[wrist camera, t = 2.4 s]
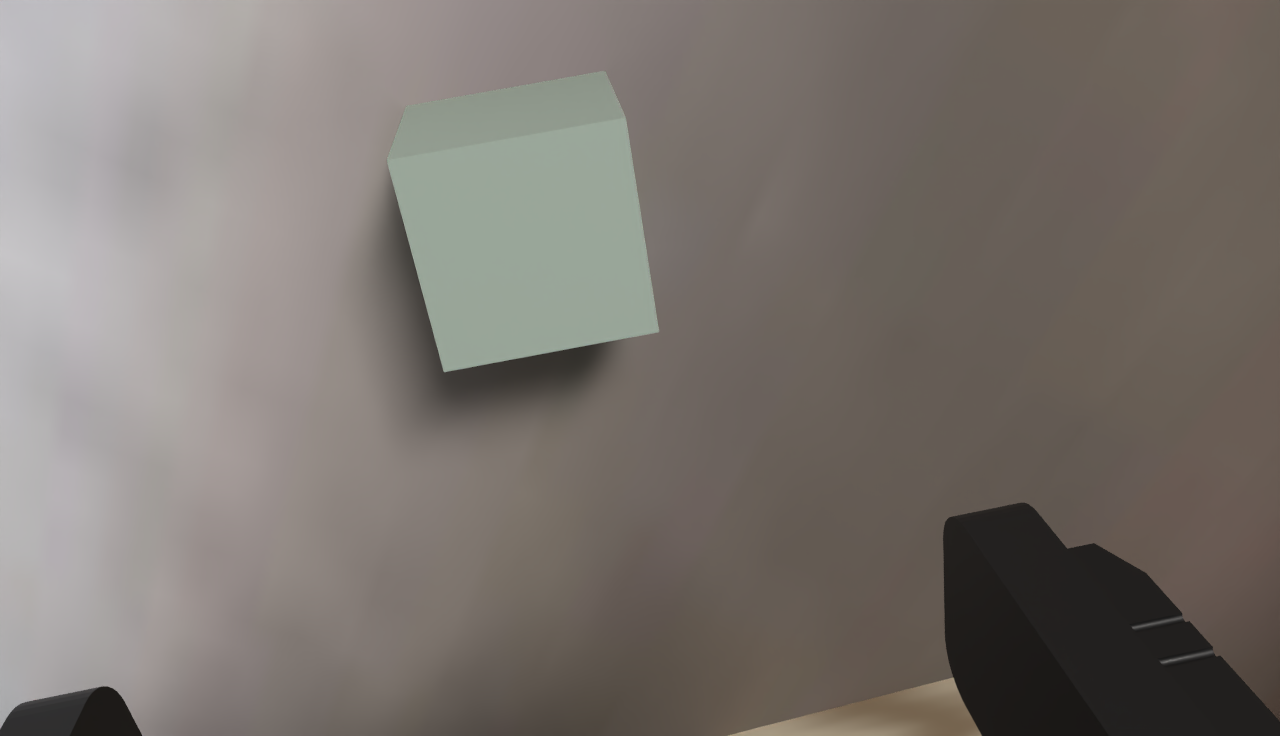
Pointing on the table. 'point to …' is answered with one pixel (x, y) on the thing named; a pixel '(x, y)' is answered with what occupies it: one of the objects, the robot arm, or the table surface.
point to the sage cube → (524, 220)
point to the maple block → (886, 716)
